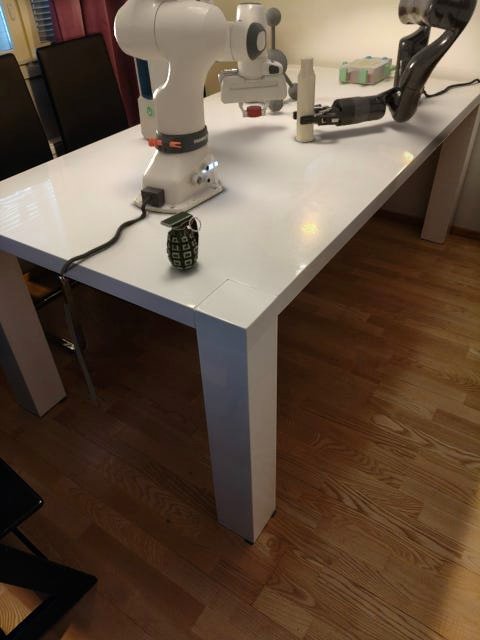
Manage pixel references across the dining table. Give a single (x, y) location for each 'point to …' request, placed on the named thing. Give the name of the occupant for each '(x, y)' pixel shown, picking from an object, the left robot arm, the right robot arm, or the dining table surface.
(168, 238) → the grenade
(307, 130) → the bottle
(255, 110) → the cap
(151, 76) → the electronic device
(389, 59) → the decorative block
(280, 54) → the molecular model
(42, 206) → the dining table surface
